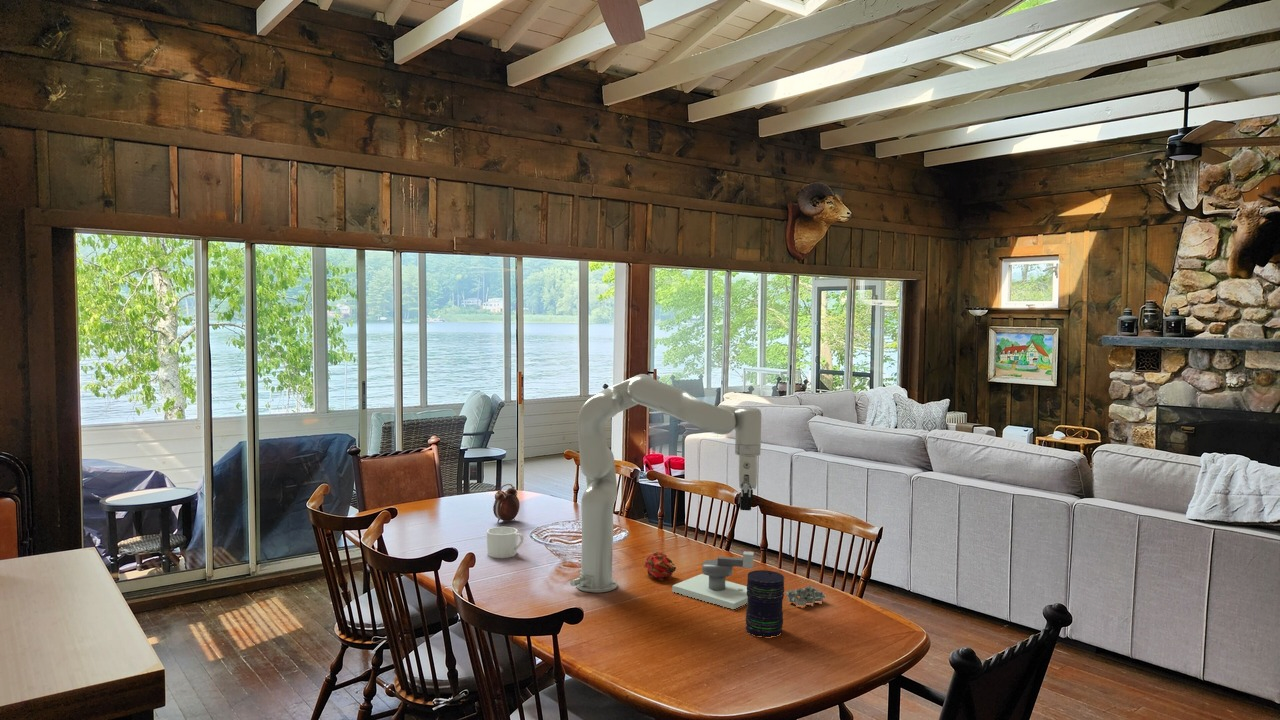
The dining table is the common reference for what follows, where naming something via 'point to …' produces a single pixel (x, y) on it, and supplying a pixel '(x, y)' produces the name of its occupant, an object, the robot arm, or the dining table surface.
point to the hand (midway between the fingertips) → (746, 506)
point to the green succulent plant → (804, 595)
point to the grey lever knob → (727, 565)
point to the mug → (503, 542)
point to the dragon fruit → (659, 565)
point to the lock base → (713, 590)
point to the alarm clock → (506, 504)
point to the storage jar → (764, 603)
